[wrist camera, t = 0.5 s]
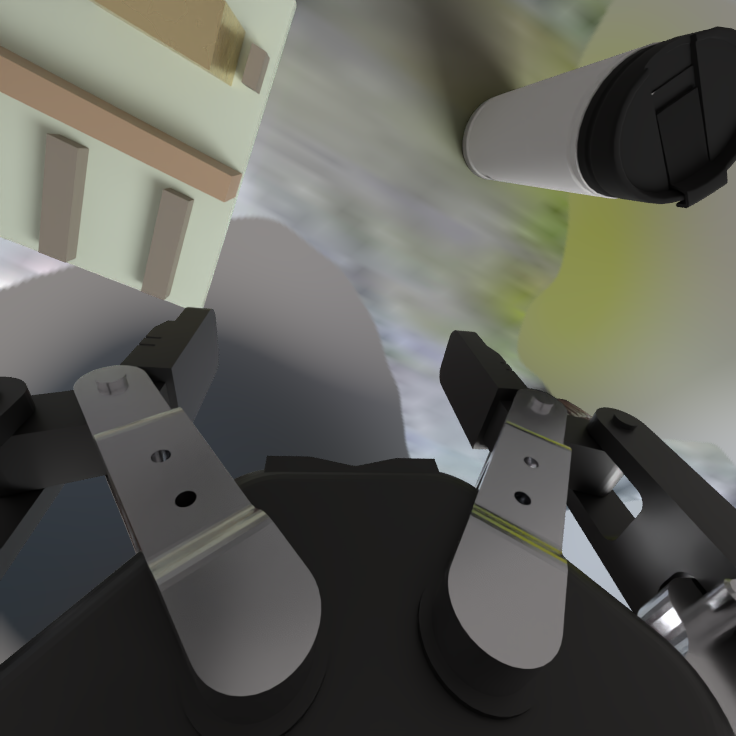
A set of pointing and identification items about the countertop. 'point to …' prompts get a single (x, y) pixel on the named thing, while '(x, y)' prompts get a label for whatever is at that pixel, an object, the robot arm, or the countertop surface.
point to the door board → (147, 98)
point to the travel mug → (619, 125)
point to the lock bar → (187, 30)
